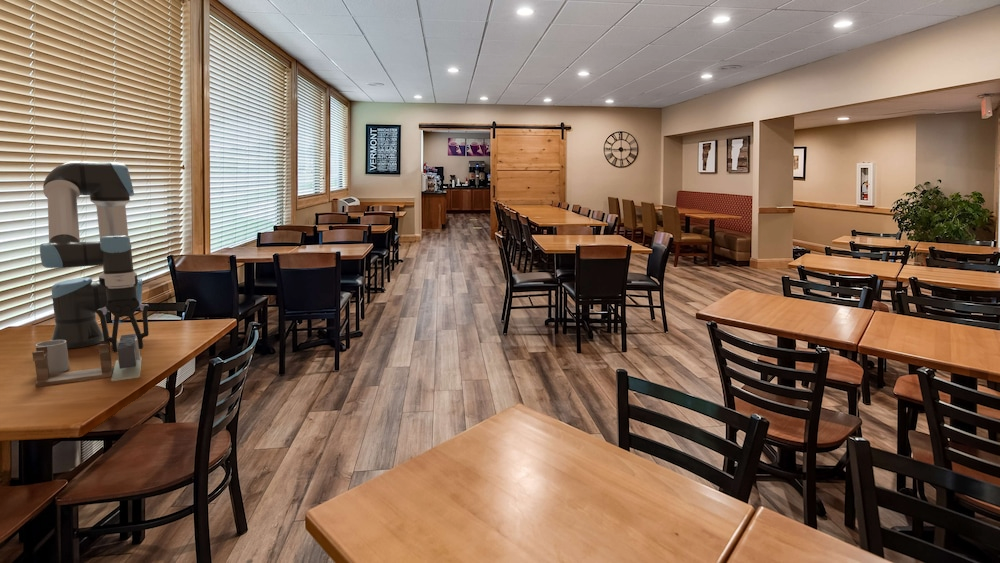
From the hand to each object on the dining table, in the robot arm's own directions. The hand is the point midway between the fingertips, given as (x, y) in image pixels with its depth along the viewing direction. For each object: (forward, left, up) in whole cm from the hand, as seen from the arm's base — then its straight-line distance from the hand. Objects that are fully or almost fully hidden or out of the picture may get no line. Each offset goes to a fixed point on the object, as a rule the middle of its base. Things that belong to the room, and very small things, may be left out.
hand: (129, 360), depth 170 cm
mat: (-1, -1, -3) cm, 3 cm away
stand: (+1, -13, -3) cm, 14 cm away
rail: (0, 0, 0) cm, 0 cm away
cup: (-11, -20, -3) cm, 23 cm away
